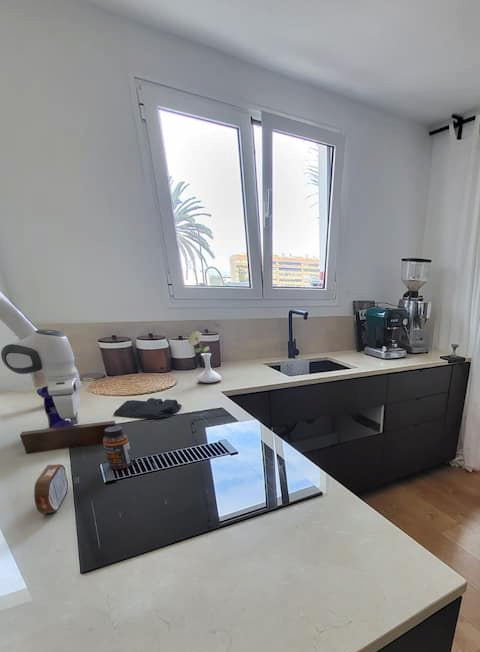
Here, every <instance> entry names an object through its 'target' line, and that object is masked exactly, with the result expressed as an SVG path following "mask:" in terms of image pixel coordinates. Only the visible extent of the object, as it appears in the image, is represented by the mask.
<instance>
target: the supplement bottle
mask: <svg viewBox="0 0 480 652" xmlns="http://www.w3.org/2000/svg"><path fill="white" fill-rule="evenodd" d="M105 434H106V436H105V437H104V438H103V443H102V444H103V447H104V452H105V455H106V459H107V463H108V466H109V468H110V469H112V470H116V469H117V470H124V469H127V468H129V467H131V466H132V465H133V464H134V460H133V456H132V452H131V447H130V443H129V438H128V435H127V433H124V432H123V429H122V427H121V426H119V425H118V426H117V425H116V426H114V427H109V428H106V429H105Z"/></svg>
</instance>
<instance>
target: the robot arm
mask: <svg viewBox="0 0 480 652" xmlns="http://www.w3.org/2000/svg"><path fill="white" fill-rule="evenodd" d="M0 321H1V322H2V323H3V324H4V325H5V326H6V327H7V328H8V329H9V330H10V331H11V332H12V333H13V334H15V336H16V337H17V338H18V339H19V340H17V341H13V342H11V343H8V344H6V345H4V346H3V347H2V349H1V352H0V357H1V361H2V363H3V364H4V366H5V367H6V368H7V369H9V370H10V371H11V372H14V373H15V374H18V375H19V374H20V375H29V374H33V373H36V372H40V373H42V374H43V377H44V379H45V380H44V381H45V383H46V385H47V386H48V393H49V395H52V398H53V401H54V404H55V407H56V409H57V412H58V414H59V416H60V417H61V418H62V419H65V420H69V421H70V422H71V423H72V424H73V425H79V421H80V419H79V413H78V409H79V408H80V407H79V406H80V404H81V402H82V401H81V395H80V391H79V389H80V388H82V387H83V386H82V381H81V377H80V374H79V371H78V369H77V367H76V364H75V355H74V352H73V348H72V346H71V343H70V341H69V339H68V336H66V334H65V333H63V332H61V331H58V330H56V329H55V330H54V329H41V328H40V329H39V326H37V325H36V323H34V322H33V321H32V320H31V319H30V318H29V317H28V316H27V315H26V313H24V312H23V311H22V310H21V309H20V308H19V307H18V306H17V304H16V303H14V301H12V300H11V299H10V298H9V297H8V296H7V295H6V294H5V293H3V292H2V291H1V290H0Z"/></svg>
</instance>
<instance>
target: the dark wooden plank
mask: <svg viewBox="0 0 480 652" xmlns="http://www.w3.org/2000/svg"><path fill="white" fill-rule="evenodd" d="M114 426H117V423H116V421H115V420H109V421H108V420H107V421H99V422H92V423H83V424H74V426H66V427H58V428H49V429H48V428H42V429H34V430H25V431H21V433H20V434H19V436H20V441H21V442H22V445H23V448H24V451H25V454H26V455H27V454H35V453H43V452H47V451H54V450H62V449H70V448H76V447H75V446H77V447H83V446H82V445H84V446H90V445H89V444H91V445H97V444H104V443H103V438H104V437H105V436H106V434H105V429H106V428H109V427H114ZM69 447H70V448H69Z"/></svg>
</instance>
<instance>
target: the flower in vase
mask: <svg viewBox="0 0 480 652" xmlns="http://www.w3.org/2000/svg"><path fill="white" fill-rule="evenodd" d="M202 339H203V333H202V332H200V331H199V330H196V331H193V332H192V333H191V335H189V338H188V341H187V342H188V344H189V345H191V346H196V345H199V347H197V348H195V349H194V350H193V353H200V352H201V351H202V352H203V353H200V356H201V357H202V359H203V361H204V366H205V368H204V370H203V371H202V372H201V373H200V374H199V375H198V376H197V381H198V382H200V383H205V384H206V383H207V384H211V383H217V382H219V381H221V380H222V376H221V375H220V374H219V373H217V372H216V371H215V370H213V369H212V367H211V356H212V353H210V352H208V351H210V345H208V346H206V347H204V348H202V345H201V344H200V342H201V341H202Z"/></svg>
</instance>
